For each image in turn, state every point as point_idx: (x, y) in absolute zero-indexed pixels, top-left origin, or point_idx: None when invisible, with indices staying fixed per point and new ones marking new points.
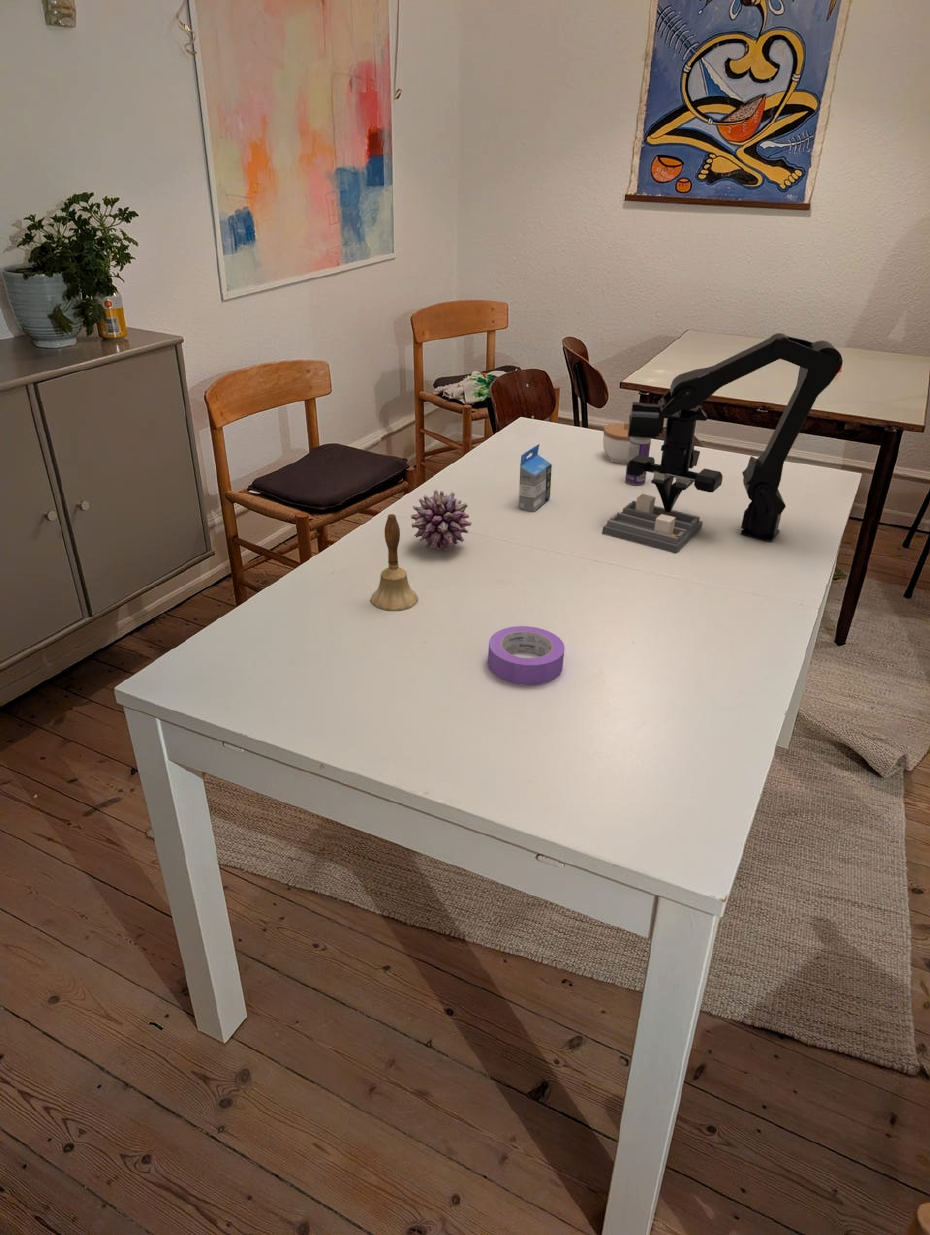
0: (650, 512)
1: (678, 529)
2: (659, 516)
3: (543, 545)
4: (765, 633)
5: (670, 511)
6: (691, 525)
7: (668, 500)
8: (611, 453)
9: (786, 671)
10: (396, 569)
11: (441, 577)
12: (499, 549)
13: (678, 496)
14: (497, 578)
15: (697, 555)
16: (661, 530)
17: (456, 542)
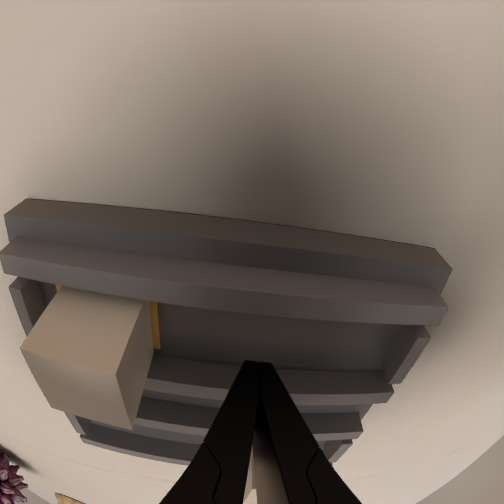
0: (147, 340)
1: (331, 438)
2: (250, 496)
3: (59, 452)
4: (429, 484)
5: (270, 364)
6: (388, 398)
7: (256, 480)
8: None
9: (424, 497)
10: None
11: (62, 488)
12: (36, 457)
13: (322, 456)
14: (99, 495)
15: (384, 425)
16: None
17: (8, 460)
